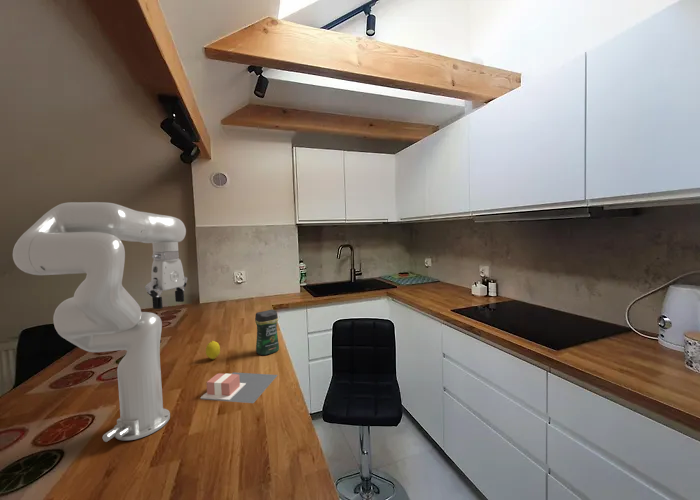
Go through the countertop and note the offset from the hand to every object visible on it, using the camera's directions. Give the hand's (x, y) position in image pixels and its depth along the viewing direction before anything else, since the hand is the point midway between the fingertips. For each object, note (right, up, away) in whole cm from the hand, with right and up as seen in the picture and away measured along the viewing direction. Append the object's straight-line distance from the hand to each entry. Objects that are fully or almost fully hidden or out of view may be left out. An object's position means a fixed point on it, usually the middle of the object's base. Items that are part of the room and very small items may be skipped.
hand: (169, 304), depth 102 cm
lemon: (+6, -27, +21) cm, 35 cm away
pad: (+22, -28, -6) cm, 36 cm away
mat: (+27, -28, -3) cm, 39 cm away
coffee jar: (+27, -26, +27) cm, 47 cm away
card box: (+22, -27, -6) cm, 35 cm away
